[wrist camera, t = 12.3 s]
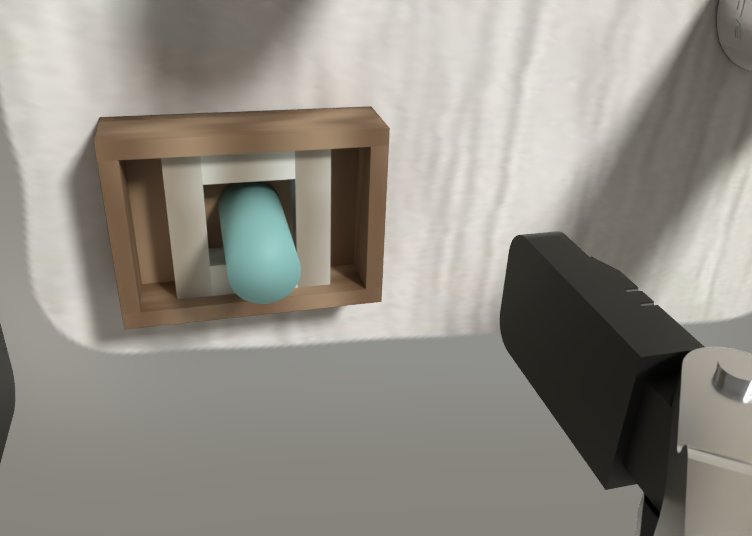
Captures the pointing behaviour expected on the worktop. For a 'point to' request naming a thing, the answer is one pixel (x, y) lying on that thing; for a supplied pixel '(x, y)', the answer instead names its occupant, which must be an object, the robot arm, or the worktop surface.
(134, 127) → the box
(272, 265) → the peg
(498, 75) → the worktop surface
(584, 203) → the worktop surface
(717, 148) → the worktop surface
